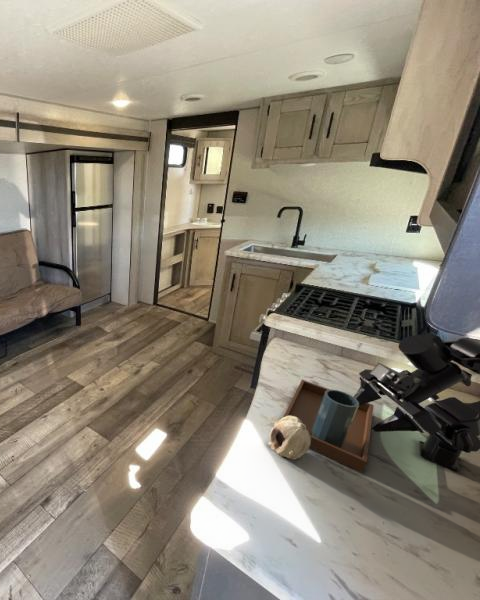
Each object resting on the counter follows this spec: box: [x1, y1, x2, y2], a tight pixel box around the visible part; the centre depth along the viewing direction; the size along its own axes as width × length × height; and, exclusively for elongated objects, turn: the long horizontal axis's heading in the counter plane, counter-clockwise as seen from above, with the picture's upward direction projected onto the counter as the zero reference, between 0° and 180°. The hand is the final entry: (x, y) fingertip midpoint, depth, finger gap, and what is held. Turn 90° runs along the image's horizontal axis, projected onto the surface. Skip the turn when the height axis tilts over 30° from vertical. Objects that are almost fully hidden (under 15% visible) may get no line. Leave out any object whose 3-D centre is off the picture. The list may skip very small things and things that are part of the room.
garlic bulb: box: [268, 416, 311, 460], centre depth 78 cm, size 9×8×10 cm
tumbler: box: [311, 389, 359, 448], centre depth 80 cm, size 7×7×13 cm
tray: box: [283, 379, 375, 473], centre depth 89 cm, size 28×18×3 cm, turn 137°
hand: (360, 417), depth 78 cm, fingers open, 9 cm apart
